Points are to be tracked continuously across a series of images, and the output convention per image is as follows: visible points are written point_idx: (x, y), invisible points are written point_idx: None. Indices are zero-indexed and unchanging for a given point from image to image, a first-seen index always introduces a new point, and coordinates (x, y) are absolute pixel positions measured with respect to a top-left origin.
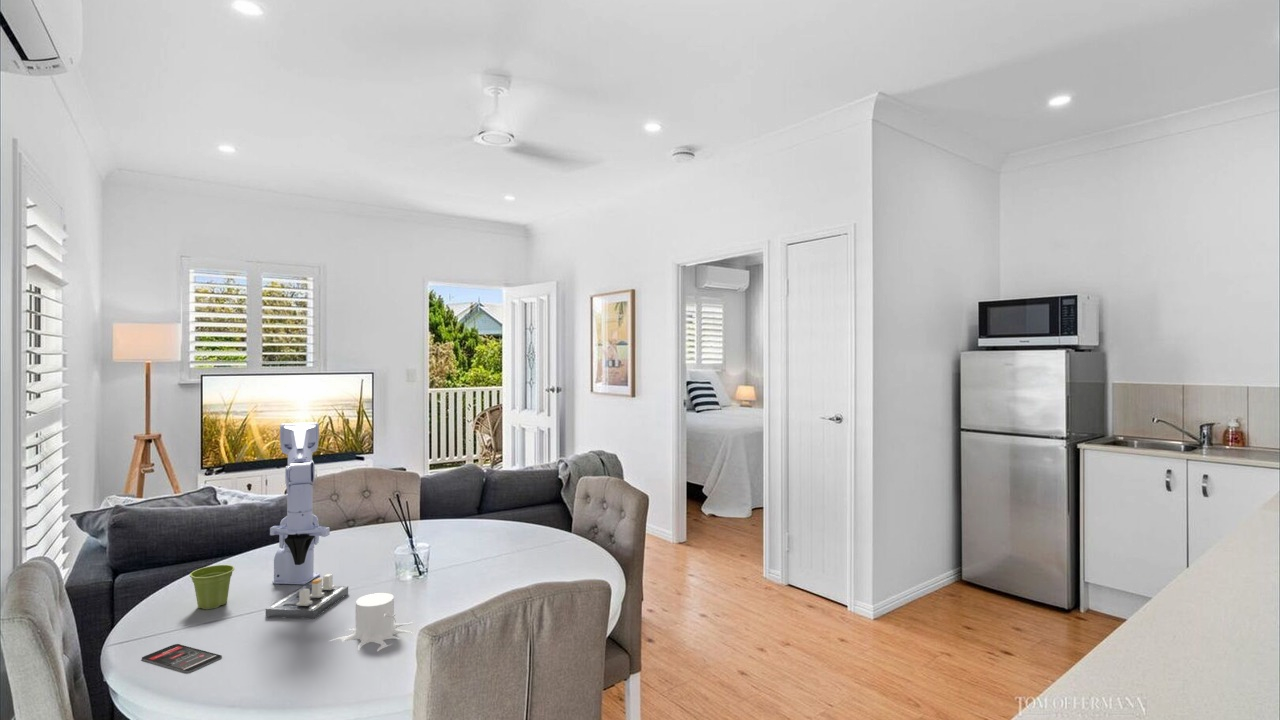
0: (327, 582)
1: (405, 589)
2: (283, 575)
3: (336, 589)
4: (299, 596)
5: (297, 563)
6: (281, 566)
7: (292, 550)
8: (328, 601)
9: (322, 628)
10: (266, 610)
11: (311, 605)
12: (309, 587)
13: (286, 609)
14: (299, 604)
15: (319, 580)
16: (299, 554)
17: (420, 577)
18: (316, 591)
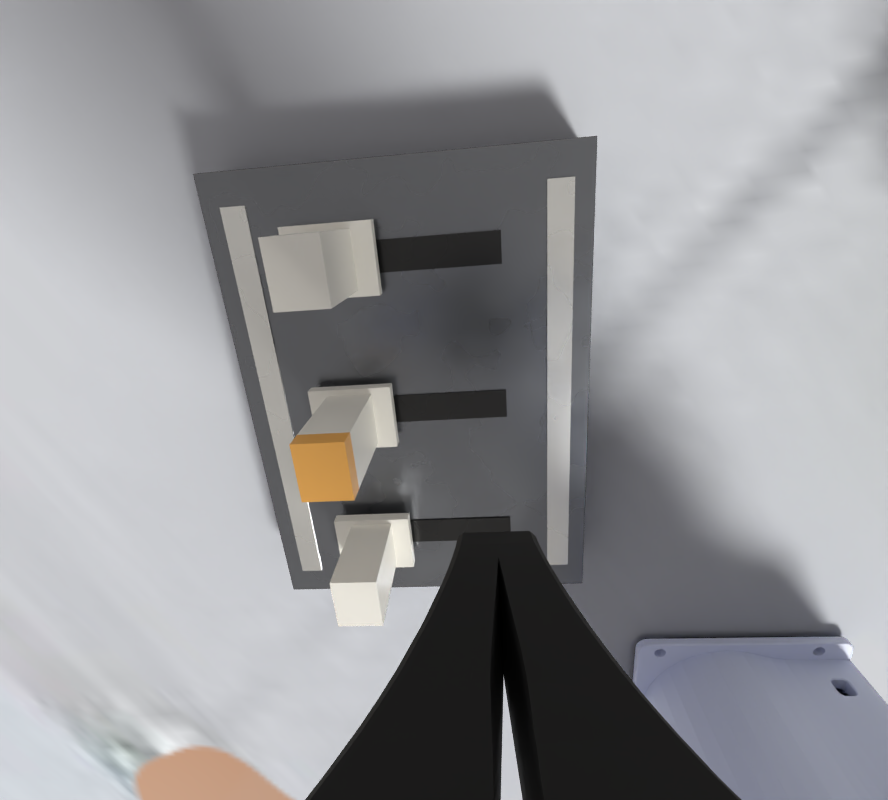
0: (351, 550)
1: (69, 633)
2: (807, 690)
3: (327, 541)
4: (333, 231)
5: (491, 540)
6: (866, 751)
7: (597, 711)
8: (246, 373)
9: (37, 24)
10: (585, 137)
11: None
12: None
13: (416, 155)
14: (345, 222)
15: (296, 471)
16: (433, 641)
17: (121, 752)
18: (327, 407)
